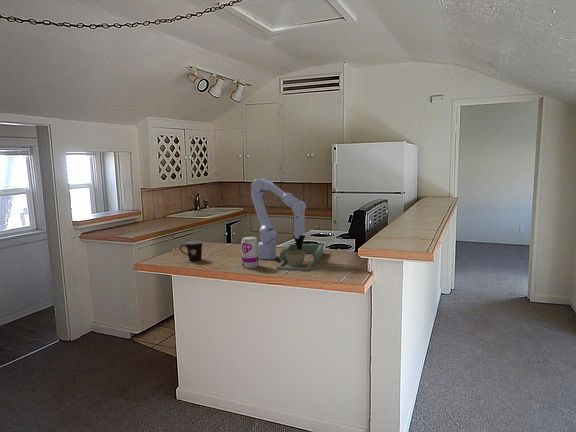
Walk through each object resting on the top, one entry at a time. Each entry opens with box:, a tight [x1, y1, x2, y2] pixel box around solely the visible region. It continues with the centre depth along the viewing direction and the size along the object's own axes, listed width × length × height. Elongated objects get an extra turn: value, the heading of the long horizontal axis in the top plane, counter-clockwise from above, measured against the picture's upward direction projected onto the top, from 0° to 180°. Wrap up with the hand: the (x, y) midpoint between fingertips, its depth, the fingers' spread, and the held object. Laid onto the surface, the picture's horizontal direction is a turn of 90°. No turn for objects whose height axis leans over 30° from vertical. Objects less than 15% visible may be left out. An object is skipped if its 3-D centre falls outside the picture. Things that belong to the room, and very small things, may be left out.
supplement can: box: [240, 236, 259, 269], centre depth 218 cm, size 8×8×15 cm
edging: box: [276, 259, 315, 272], centre depth 217 cm, size 16×14×1 cm
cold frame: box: [279, 243, 324, 264], centre depth 235 cm, size 20×23×5 cm
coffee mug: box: [179, 240, 203, 263], centre depth 235 cm, size 12×9×10 cm
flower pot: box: [286, 251, 306, 267], centre depth 217 cm, size 10×10×7 cm
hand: (299, 249), depth 228 cm, fingers closed
